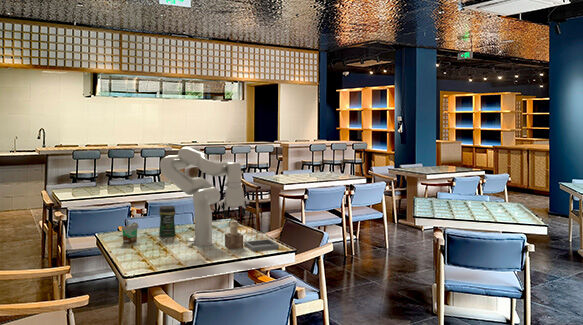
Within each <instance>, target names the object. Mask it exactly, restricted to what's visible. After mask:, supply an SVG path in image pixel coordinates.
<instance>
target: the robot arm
mask: <svg viewBox="0 0 583 325" xmlns="http://www.w3.org/2000/svg"><path fill="white" fill-rule="evenodd" d="M207 155H208V154H206V153H205V152H202V150H201V149H200V148H199V147H198V146H184V147H181V148H180V149H179V150H178V153H177V154H175V155H174V154H173V155H172V154H171V155H166V156H165V157H163V158H162V159H161V160H160V162H159V168H160V171H161V173H162V175H163V177H165V179H167V180H169V182H171V183H173V184H174V186H176V187H177V188H178V189H179V190H180V191H182V192H183V193H185V194H186V195H188V196H192V203H193V211H194V235H193V237H192V238H186V239H185V242H186V243H191V244H192V245H194V246H197V247H198V246H211V245H214V244H215V243H216V242H215V241H214V240H213V216H212V215H213V213H212V209H211V206H210V205H213V204H217V203H218V205H219V206H220V208H221V209H222V210H223V216H224V218H228V210H227V209H229V208H232V207H234V208H235V207H241V216H243V217H245V215H246V209H247V207H248V206H249V204H250V202H251V200H250V199H247V198H246V197H245V193H244V188H243V187H242V166H241V163H240V162H236V161H235V162H234V161H233V162H230V161H217V162H215V161H212V160H210V159H208V156H207ZM191 165H192V166H194V167H197V168H198V169H199V170H200V171H201V172H203V173H205V174H207V175H209V176H212V177H221V176H226V183H224V186H225V191H224V192H225V193H224V198H223V199H222V200H221V193H220V190H218V188H217V187H216V186H215V185H213V184H211V182H210V181H208V180H207V179H205V178H203V177H191V176H188V175H187V174H186V173H185V172H183V171H181V170H183V169H186V168H188V167H190V166H191ZM223 204H224V205H223Z"/></svg>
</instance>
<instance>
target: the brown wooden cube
mask: <svg viewBox="0 0 583 325" xmlns="http://www.w3.org/2000/svg"><path fill="white" fill-rule="evenodd" d="M224 247H225V248H227V250H229V251H230V250H236V249H237V250H240V249H244V234H243V233H240V232H238V235H237V236H230V232H228V233H227V232H226V233H224Z"/></svg>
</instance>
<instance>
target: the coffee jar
mask: <svg viewBox="0 0 583 325" xmlns="http://www.w3.org/2000/svg"><path fill="white" fill-rule="evenodd" d="M158 213H159V217H160V218H159V219H160V220H159V228H158V229H159V230H158V231H159V232H158V234H159V237H163V238H166V237H167V238H169V237H174V236H176V226H175V224H176V223H175V215H176V207H175V206H174V205H160V206H159V211H158Z"/></svg>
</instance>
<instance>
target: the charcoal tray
mask: <svg viewBox="0 0 583 325" xmlns="http://www.w3.org/2000/svg"><path fill="white" fill-rule="evenodd" d="M243 246H245V247H246V248H247V249H249V250H250V251H252V252H256V251H267V250H277V249H279V248H280V247H279V246H280V244H278V243H276V242H275V241H273V240H272V239H269V238H267V239H257V240H248V241H243ZM279 250H280V249H279Z"/></svg>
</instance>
